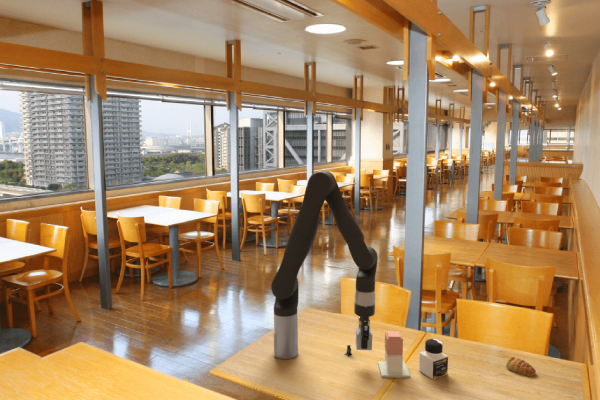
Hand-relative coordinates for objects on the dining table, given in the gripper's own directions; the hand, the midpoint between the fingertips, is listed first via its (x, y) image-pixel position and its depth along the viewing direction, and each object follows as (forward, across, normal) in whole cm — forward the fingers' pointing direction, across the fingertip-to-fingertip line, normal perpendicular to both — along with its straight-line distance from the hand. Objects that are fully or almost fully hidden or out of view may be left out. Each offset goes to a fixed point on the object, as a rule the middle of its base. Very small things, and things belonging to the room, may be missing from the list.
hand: (363, 344), depth 169 cm
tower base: (+8, +4, +11) cm, 14 cm away
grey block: (+1, 0, 0) cm, 1 cm away
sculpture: (+9, -8, -5) cm, 13 cm away
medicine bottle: (+7, +6, +25) cm, 27 cm away
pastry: (+7, +3, +56) cm, 57 cm away
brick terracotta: (0, +4, +10) cm, 11 cm away
